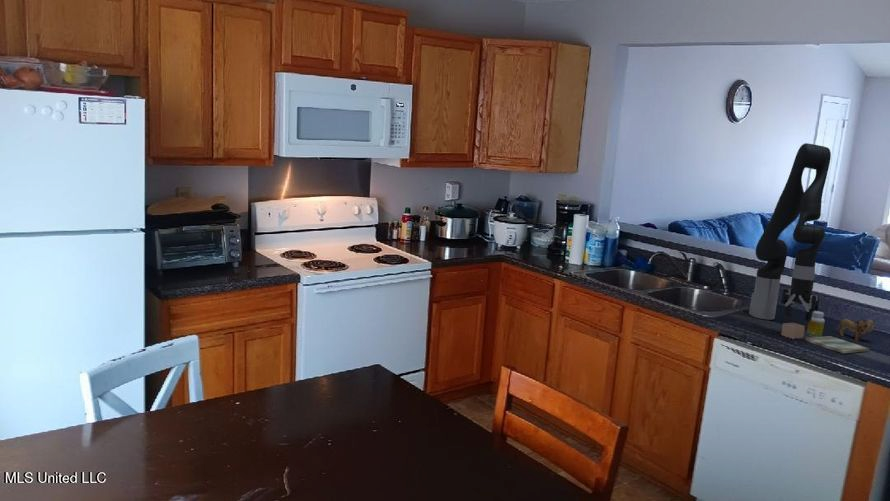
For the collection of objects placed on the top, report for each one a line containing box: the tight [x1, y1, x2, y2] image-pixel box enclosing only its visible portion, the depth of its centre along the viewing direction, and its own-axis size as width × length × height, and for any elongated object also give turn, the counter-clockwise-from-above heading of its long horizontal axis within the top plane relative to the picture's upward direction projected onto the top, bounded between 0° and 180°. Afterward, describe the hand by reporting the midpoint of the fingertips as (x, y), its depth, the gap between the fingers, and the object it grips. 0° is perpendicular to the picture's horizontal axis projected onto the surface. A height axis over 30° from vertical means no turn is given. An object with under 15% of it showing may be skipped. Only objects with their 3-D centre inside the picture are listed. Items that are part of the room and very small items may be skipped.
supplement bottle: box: [806, 310, 826, 338], centre depth 277 cm, size 5×5×10 cm
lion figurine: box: [832, 318, 875, 341], centre depth 279 cm, size 15×5×9 cm, turn 34°
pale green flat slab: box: [804, 335, 870, 354], centre depth 266 cm, size 16×14×1 cm
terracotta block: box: [780, 322, 806, 340], centre depth 274 cm, size 5×6×5 cm
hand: (797, 318), depth 273 cm, fingers open, 8 cm apart
